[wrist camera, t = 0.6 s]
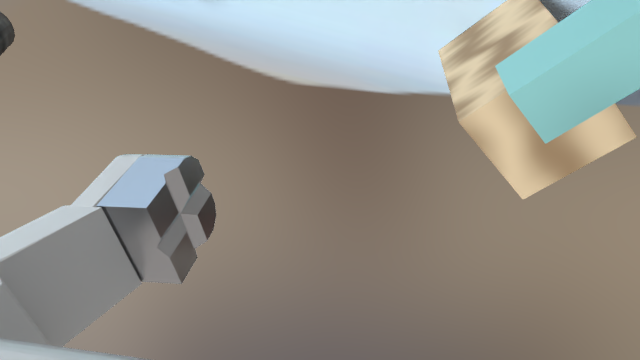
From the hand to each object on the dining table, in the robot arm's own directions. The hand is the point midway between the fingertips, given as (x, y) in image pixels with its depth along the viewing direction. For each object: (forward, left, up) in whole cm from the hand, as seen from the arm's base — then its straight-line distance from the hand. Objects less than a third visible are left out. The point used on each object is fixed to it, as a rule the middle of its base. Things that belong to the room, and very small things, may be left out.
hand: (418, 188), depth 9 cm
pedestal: (+11, +19, -46) cm, 51 cm away
